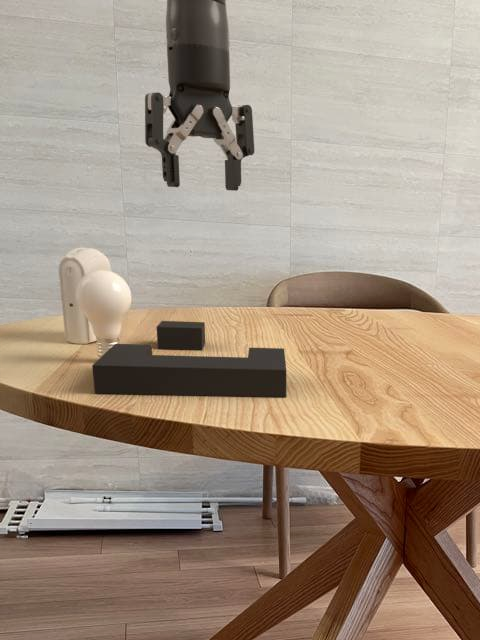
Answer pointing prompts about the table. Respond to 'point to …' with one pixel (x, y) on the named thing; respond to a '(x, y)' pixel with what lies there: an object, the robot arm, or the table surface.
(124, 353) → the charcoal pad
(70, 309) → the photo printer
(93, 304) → the lightbulb
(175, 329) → the black block
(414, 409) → the table surface
